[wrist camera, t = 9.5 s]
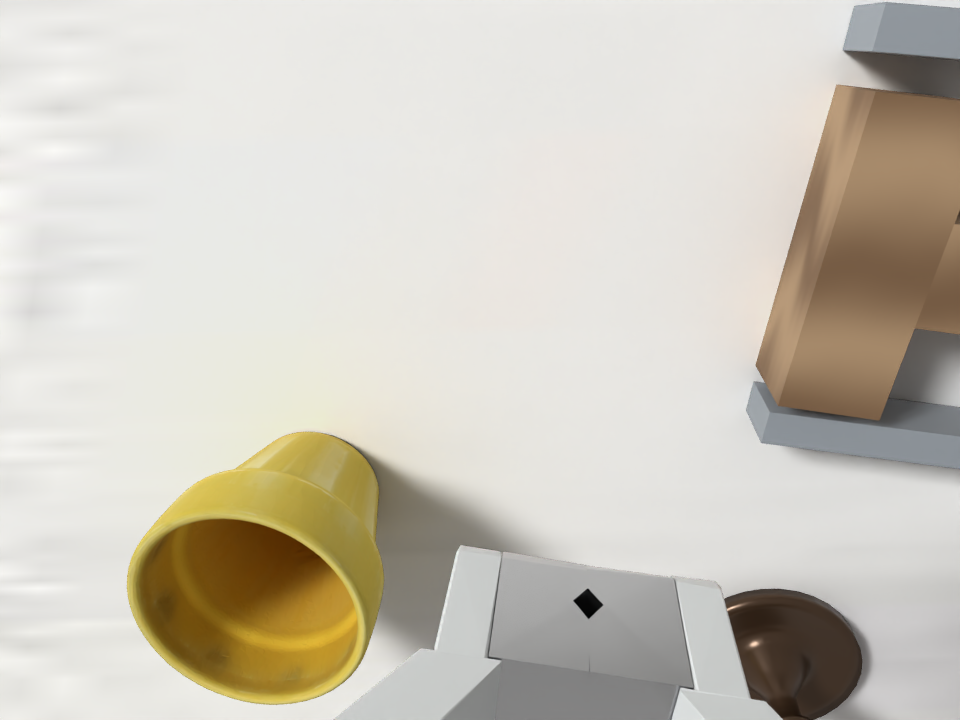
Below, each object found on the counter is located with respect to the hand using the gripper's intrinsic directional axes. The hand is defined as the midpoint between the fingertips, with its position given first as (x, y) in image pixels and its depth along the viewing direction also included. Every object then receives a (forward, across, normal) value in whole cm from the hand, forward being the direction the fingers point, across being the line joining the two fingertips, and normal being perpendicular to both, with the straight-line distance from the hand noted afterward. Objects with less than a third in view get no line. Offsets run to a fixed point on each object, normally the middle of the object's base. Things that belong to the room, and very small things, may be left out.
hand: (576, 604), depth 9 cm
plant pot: (+24, +11, +17) cm, 32 cm away
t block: (+24, -15, +1) cm, 29 cm away
